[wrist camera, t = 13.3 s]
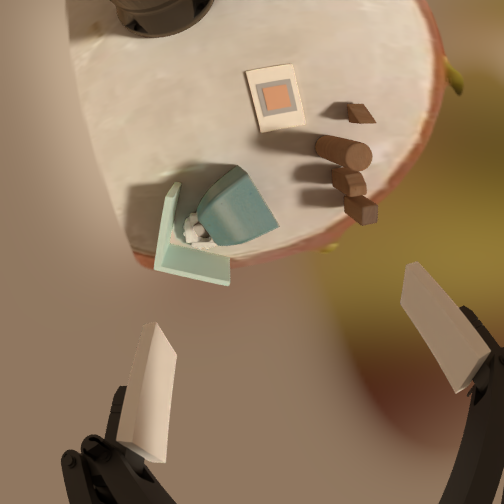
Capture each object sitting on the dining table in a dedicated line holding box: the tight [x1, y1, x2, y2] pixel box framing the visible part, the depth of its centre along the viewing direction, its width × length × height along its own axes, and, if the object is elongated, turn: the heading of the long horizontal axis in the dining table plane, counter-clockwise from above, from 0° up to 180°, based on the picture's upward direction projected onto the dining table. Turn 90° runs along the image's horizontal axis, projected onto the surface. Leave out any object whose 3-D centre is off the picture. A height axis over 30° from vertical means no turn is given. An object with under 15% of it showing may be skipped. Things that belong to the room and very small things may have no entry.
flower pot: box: [197, 165, 280, 246], centre depth 39 cm, size 9×9×9 cm
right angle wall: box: [154, 182, 230, 286], centre depth 42 cm, size 12×12×8 cm
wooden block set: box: [315, 104, 378, 226], centre depth 36 cm, size 18×9×10 cm, turn 9°
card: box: [246, 64, 306, 133], centre depth 35 cm, size 10×7×1 cm
